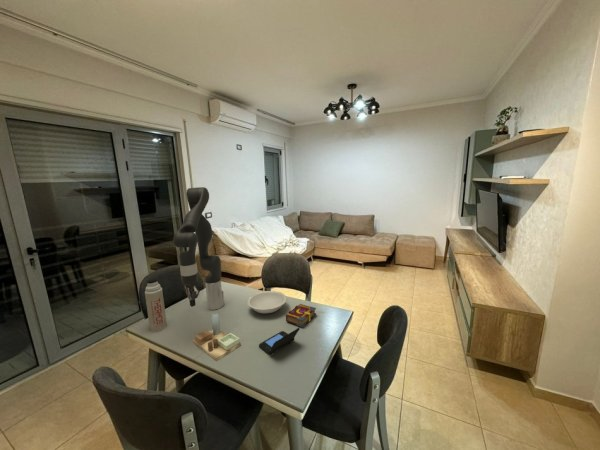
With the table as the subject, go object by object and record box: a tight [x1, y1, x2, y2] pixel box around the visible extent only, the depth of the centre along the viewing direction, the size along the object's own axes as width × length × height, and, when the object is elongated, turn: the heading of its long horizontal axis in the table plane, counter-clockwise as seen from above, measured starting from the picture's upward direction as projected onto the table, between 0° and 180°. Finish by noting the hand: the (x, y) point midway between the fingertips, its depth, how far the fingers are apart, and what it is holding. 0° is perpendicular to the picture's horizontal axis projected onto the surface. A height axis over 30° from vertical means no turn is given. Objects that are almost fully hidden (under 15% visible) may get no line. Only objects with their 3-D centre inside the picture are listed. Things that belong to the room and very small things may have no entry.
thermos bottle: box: [144, 278, 168, 333], centre depth 130 cm, size 8×8×28 cm
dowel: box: [210, 312, 221, 335], centre depth 124 cm, size 4×4×10 cm
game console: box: [258, 327, 300, 356], centre depth 115 cm, size 16×14×9 cm
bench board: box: [192, 329, 241, 362], centre depth 118 cm, size 13×21×5 cm, turn 50°
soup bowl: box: [246, 290, 288, 314], centre depth 149 cm, size 24×24×7 cm
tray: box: [218, 332, 241, 351], centre depth 116 cm, size 7×7×2 cm
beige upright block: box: [194, 329, 212, 345], centre depth 119 cm, size 6×5×3 cm
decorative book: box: [285, 303, 317, 328], centre depth 139 cm, size 11×16×5 cm
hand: (192, 305), depth 122 cm, fingers closed
